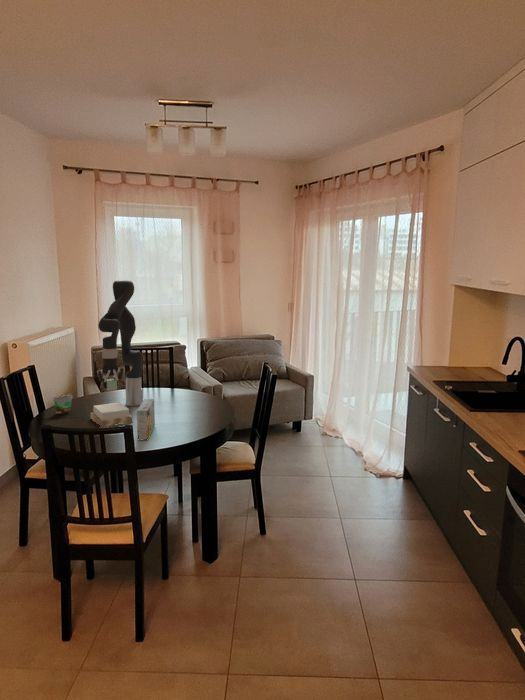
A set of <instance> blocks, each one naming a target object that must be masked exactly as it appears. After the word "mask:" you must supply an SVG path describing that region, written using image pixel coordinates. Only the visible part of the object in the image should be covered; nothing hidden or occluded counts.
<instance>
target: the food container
mask: <svg viewBox="0 0 525 700" xmlns="http://www.w3.org/2000/svg"><path fill="white" fill-rule="evenodd" d="M72 399H73V395H72V393H71V392H66V394H64V395H60V396H59V397H58V396H57V397H54V398H53V402H54V407H55V408H54V409H55V415H57V414H61V415H66V414H65V413H67V414H70V413H71V412H70V411H72V410H71V409H72ZM69 412H70V413H69Z"/></svg>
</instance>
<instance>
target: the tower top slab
mask: <svg viewBox="0 0 525 700" xmlns="http://www.w3.org/2000/svg"><path fill="white" fill-rule="evenodd" d="M92 406H93V407H92V408H93V412H94V414H95V415H97V416H98V417H99V418H100V419H101V420H102V421H104V420H111V419H117V418H124V417H129V415H130V408H128V407H127V406H125V405H123V404H122V403H121V402H112V403H105V404H98V405H92Z"/></svg>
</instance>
